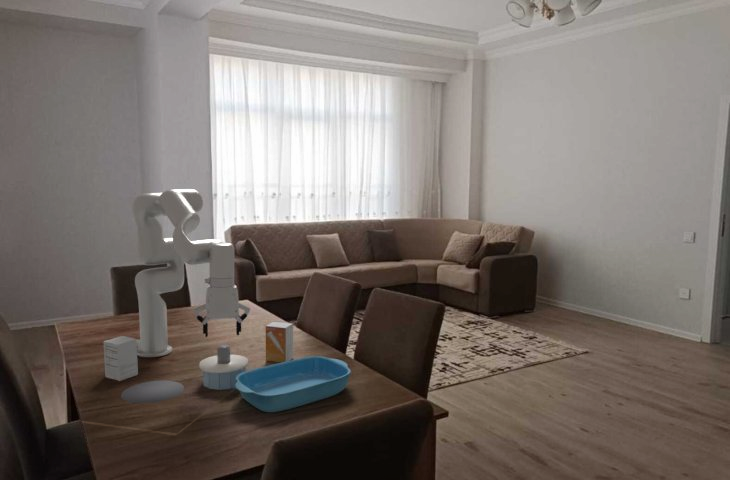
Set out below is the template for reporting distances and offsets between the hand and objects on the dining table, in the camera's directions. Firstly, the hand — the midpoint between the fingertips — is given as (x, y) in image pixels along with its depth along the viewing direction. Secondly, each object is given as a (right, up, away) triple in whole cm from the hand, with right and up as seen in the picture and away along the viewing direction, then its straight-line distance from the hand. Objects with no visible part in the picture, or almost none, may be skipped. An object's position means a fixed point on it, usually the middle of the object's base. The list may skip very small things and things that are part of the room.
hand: (222, 334), depth 178 cm
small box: (+14, -13, +25) cm, 31 cm away
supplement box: (-35, -15, +6) cm, 38 cm away
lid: (0, -10, +1) cm, 10 cm away
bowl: (0, -16, +1) cm, 16 cm away
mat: (-19, -17, -7) cm, 26 cm away
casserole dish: (+24, -17, -7) cm, 30 cm away
